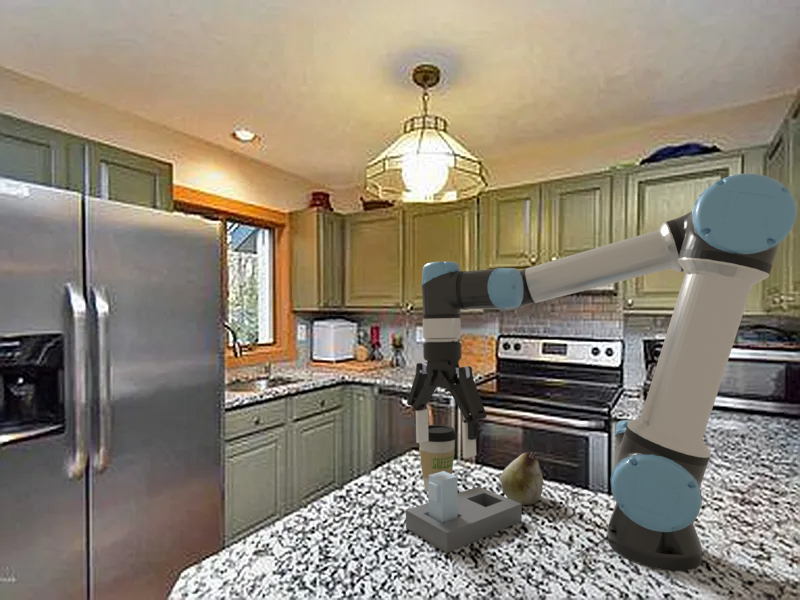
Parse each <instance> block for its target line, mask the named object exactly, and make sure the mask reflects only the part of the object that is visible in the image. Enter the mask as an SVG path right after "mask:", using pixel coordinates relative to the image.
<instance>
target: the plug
mask: <svg viewBox="0 0 800 600" xmlns="http://www.w3.org/2000/svg"><path fill="white" fill-rule="evenodd" d="M458 481H459V480H458V476H457V475H455V474H453V473H452V474H450V473H447V472H445V471H442V472H438V473H434V474H431V475H429V482H428V491H427V498H428V503H429V517H431V518H433V519H435V520H436V521H438V522H440V523H444V522H447V521H450V520H453V519H455V518H458V493H459V491H458V489H459V487H458Z"/></svg>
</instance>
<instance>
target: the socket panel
mask: <svg viewBox="0 0 800 600" xmlns="http://www.w3.org/2000/svg"><path fill="white" fill-rule="evenodd" d="M522 514H523V513H522V504H521V503H518V502H516V501H513V500H511V499H508V498H507V496H504V495H501V494H499V493H495V492H493V491H491V490H488V489H486V488H484V487H481V486H476V487H472V488H469V489H467V490H463V491H460V492H458V518H455V519H453V520H450V521H447V522H444V523H440V522H438V521H436V520H435V519H433V518H431V517H429V502H426V503H424V504H419V505H418V506H415V507H414V506H413V507H412V508H408V509H405V529H406V530H408V531H409V532H411V533H413V534H415V535H416V536H418V537H420V538H421V539H423V540H425V541H426V542H428V543H429V544H431V545H433V546H434V547H436V548H438V549H439V550H441V551H443V552H445V553H446V554H449V553H452V552H454V551H455V550H457V549H458V550H459V549H460V548H463V547H465V546H467V545H469V544H472V543H474V542H477V541H479V540H481V539H484V538H486V537H488V536H490V535H493V534H495V533H497V532H500V531H503V530H505V529H507V528H509V527H512V526H513V525H516V524H519V523H521V522H523V521H522V520H523V519H522V518H523V517H522Z"/></svg>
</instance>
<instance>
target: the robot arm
mask: <svg viewBox="0 0 800 600" xmlns="http://www.w3.org/2000/svg"><path fill="white" fill-rule="evenodd" d="M797 210H798V209H797V204H796V200H795V197H794V196H793V194H792V192H790V190H789V189H788V188H787V187H786V186H785V185H784V184H783V183H781V182H780V181H778V180H777V179H775V178H772V177H771V176H767V175H764V174H759V173H751V172H749V173H748V172H747V173H738V174H733V175H729V176H727V177H723V178H721V179H720V180H717V181H716V182H714V183H712V184H711V185H710V186H708V187H707V188H706V189H704V190H703V191H702V193H701V194H699V195H698V198H697V199H696V200H695V201H694V204H693V207H692V210H691V211H690V212H687V213H686V214H683V215H682V216H681V215H680V216H679V217H676V218H674V219H670V220H668V221H664V222H663V223H662V224H661V226H659V228H658V229H657V230H656V229H655V230H653V231H650V232H649V231H648V232H646V233H643V234H640V235H636V236H633V237H632V236H631V237H628V238H626V239H623V240H620V241H619V240H618V241H616V242H612V243H609V244H605V245H601V246H599V247H595V248H592V249H591V248H590V249H589V250H585V251H581V252H578V253H575V254H571V255H568V256H564V257H560V258H558V259H554V260H550V261H547V262H544V263H541V264H537V265H533V266H530V267H526V268H524V269H520V270H519V269H517V268H514V267H496V268H489V269H479V270H468V271H465V270H464V271H463V270H461V269H460V264H459V263H458V262H455V261H433V262H428V263H426V264H424V266H423V267H422V270H421V271H422V272H421V273H422V275H421V276H422V277H421V294H422V296H421V298H422V338H423V339H424V340H425V341H424V342H423V344H422V345H423V346H422V348H423V359H424V360H425V361H426V362H417V363H416V364H415V375H414V379H413V381H412V385H411V387H410V388H411V389H410V391H409V394H408V395H409V396H408V397H407V405H408V406H409V407H410V406H411V407H412V409H413V411H414V424H415V440H416V441H415V443H416V444H419V443H422V442H426V441H429V438H428V425H429V409H427V408H428V406H427V404H428V403H429V401H430V399H431V398H432V396H433V394H434V393H435V391H436V390H437V388H441V389H444V390H445V389H446V391H447V392H449V393H450V394H451V396H452V398H453V400H454V402H455V403H456V405H457V407H458V409H459V411H460V412H461V414H462V416H463V418H464V420H463V421H462V422H461V425H462V426H461V428H462V429H461V430H462V432H461V433H462V458H463V459H469V458H473V457H476V456H477V439H478V437H479V423H478V422H479V421H480V420H483V419H486V418H487V412H486V409H485V406H484V404H483V402H482V399H481V396H480V394H479V391H478V388H477V385H476V383H475V379H474V376H473V375H474V373H473V368H472V366H470V365H469V366H468V365H467V366H460V364H459V362H460V360H461V359H462V355H463V354H462V342H461V341H460V340H459V339H460V338H461V337H462V335H461V333H462V332H461V329H462V328H461V327H462V326H461V312H462V311H461V310H464V311H465V310H501V311H502V310H503V311H508V312H511V311H516V310H520V309H521V308H523V307H526V306H530V305H533V304H536V303H541V302H545V301H548V300H554V299H557V298H559V297H565V296H568V295H572V294H576V293H580V292H584V291H588V290H593V289H596V288H600V287H603V286H607V285H608V286H609V285H611V284H615V283H620V282H623V281H627V280H632V279H635V278H639V277H643V276H647V275H651V274H654V273H659V272H663V271H666V270H673V271H674V272H677V273H682V272H684V276H683V280H682V283H681V287H680V289H679V292H678V296H677V299H676V301H675V305H674V308H673V312H672V314H671V315H672V316H671V318H670V321H669V323H668V324H669V325H668V328H667V332H666V335H665V338H664V341H663V345H662V348H661V351H660V354H659V357H658V360H657V364H656V368H655V370H654V373H653V376H652V380H651V383H650V386H649V389H648V392H647V395H646V399H645V403H644V405H643V409H642V412H641V415H640V416H639V417H637V418H635V419H633V420H627V419H626V420H625V419H623V420H619V421H618V422H617V423H616V425H615V432H614V436H615V448H616V449H615V459H614V464H613V468H612V472H611V474H610V475H611V476H610V488H611V489H610V490H611V491H612V495H613V497H614V501H615V505H614V508H613V511H612V513H611V517H610V520H609V523H608V526H607V542H608V545H609V546H610V547H611V548H612V549H613V550H614V551H615V552H616V553H617V554H619V555H621V556H622V557H624V558H625V559H627V560H629V561H632V562H634V563H637V564H640V565H642V566H646V567H650V568H653V569H659V570H665V571H677V572H679V571H680V572H681V571H689V570H693V569H696V568H699V567H700V566H701V565H702V563H703V547H702V543H701V541H700V537H699V535H698V533H697V530H696V527H695V523H694V522H695V521H696V519H697V518H698V516H699V514H700V511H701V509H702V508H701V507H702V504H703V502H702V500H703V496H702V490H701V486H702V482H703V479H704V477H705V474H706V471H707V468H708V464H709V460H710V458H711V455H712V453H711V451H710V449H709V447H708V446H707V444H706V443H705V442H704V436H705V432H706V429H707V427H708V423H709V421H710V417H711V415H712V410H713V407H714V405H715V402H716V399H717V396H718V392H719V390H720V386H721V383H722V380H723V377H724V374H725V371H726V369H727V365H728V361H729V358H730V355H731V354H732V353H731V352H732V349H733V345H734V343H735V339H736V338H737V334H738V330H739V328H740V325H741V321H742V319H743V314H744V312H745V308H746V307H747V306H746V305H747V304H748V303H747V302H748V300H749V297H750V294H751V291H752V287H753V286H755V285H756V284H758V283H760V282H762V281H764V280H766V279H769V277H770V274H771V271H772V267H773V265H774V262H775V259H776V256H777V253H778V250H779V246H780V244H781V243H782V242H783V241H784V240H785V239H786V237H788V236H789V234H790V232H791V231H792V230H793V227H794V225H795V222H796V218H797Z"/></svg>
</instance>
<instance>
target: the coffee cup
mask: <svg viewBox="0 0 800 600" xmlns="http://www.w3.org/2000/svg"><path fill="white" fill-rule="evenodd" d="M457 437H458V436H457V433H456V432H455V428H454V427H453V426H450V425H444V424H428V438H429V441H426V442H422V443H418V444H419V448H418V450H419V457H420V458H419V459H420V467H421V475H422V479H423V488H424V490H425V491H426V492H428V482H429V475H431V474H434V473H438V472H442V471H445V472H447V473H450V474H452V475H453V468H454V461H455V460H454V459H455V458H454V457H455V443H456V442H455V441H456V440H457Z"/></svg>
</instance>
